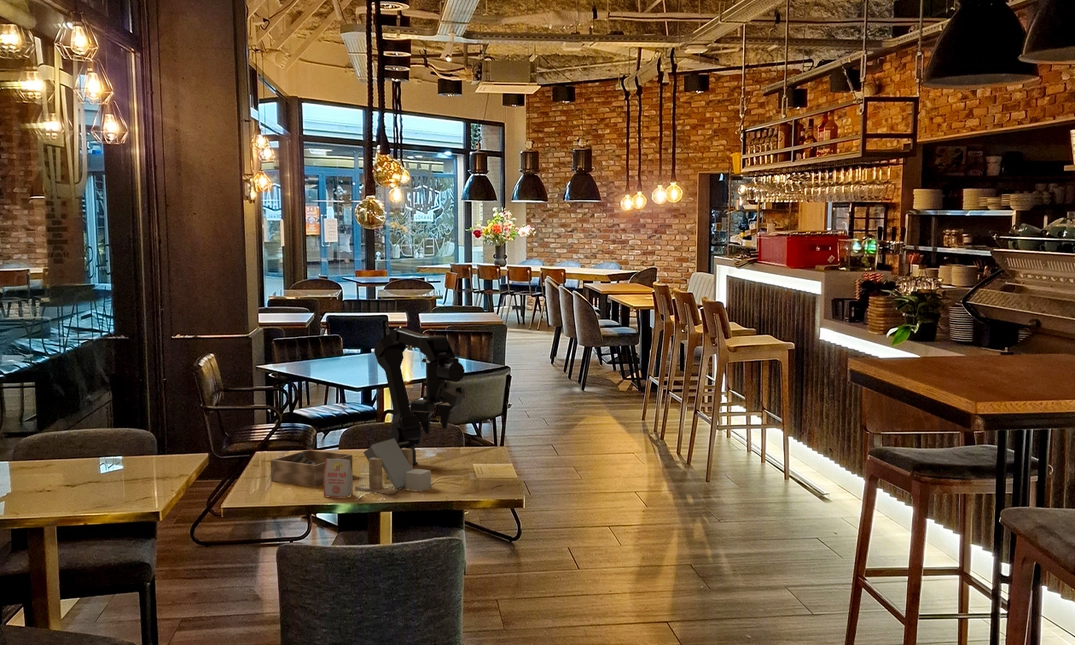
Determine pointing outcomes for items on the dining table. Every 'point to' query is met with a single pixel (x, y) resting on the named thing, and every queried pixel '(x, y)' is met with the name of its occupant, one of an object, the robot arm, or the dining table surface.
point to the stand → (376, 474)
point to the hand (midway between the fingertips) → (436, 431)
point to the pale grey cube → (418, 479)
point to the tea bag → (337, 478)
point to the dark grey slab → (391, 461)
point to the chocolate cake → (302, 459)
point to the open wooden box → (304, 468)
